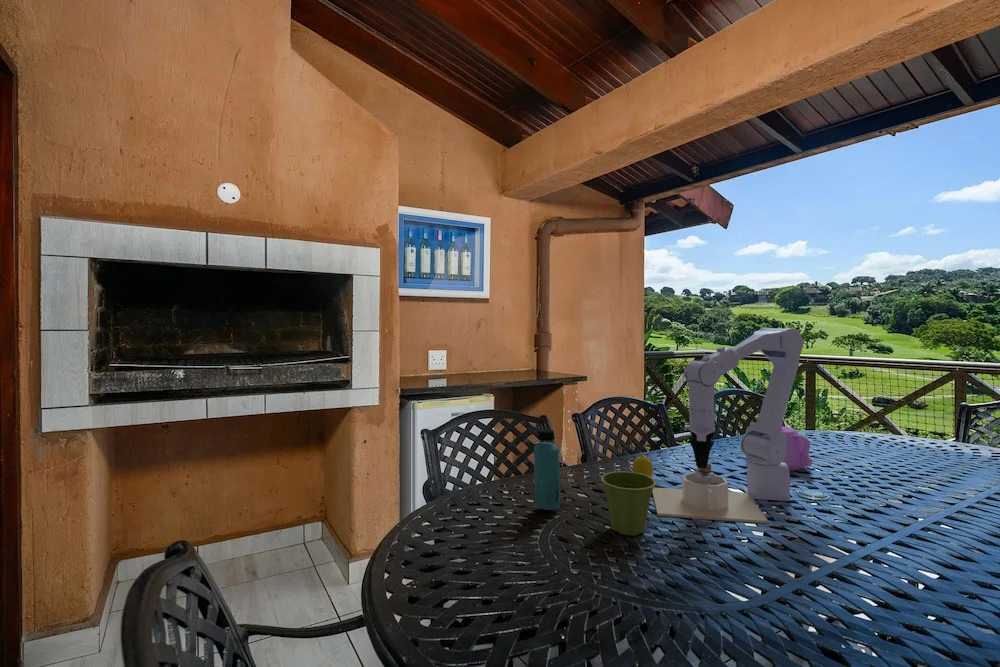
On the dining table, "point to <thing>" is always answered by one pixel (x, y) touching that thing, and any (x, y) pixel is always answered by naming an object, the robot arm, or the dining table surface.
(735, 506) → the press stand
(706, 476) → the lid
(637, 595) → the dining table surface
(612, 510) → the plant pot
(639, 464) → the lemon
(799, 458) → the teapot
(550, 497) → the beverage bottle
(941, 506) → the dining table surface
